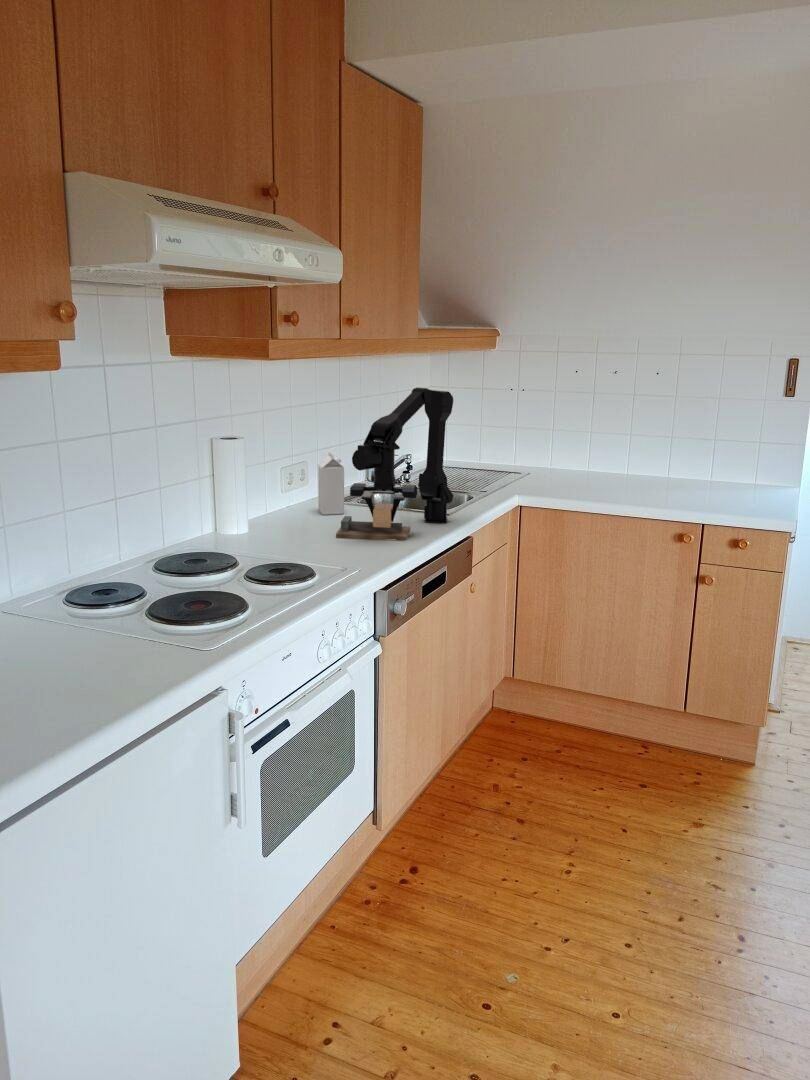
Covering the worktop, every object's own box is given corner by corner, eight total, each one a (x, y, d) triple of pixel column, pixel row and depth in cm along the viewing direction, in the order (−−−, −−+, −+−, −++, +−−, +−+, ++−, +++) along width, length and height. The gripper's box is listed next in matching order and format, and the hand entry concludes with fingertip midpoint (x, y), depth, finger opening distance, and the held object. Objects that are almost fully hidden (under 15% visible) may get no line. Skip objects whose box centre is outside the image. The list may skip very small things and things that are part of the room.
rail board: (410, 530, 247) (410, 516, 246) (406, 540, 235) (406, 526, 234) (342, 527, 248) (342, 514, 247) (336, 537, 237) (335, 523, 236)
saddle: (393, 520, 245) (393, 503, 243) (390, 527, 236) (390, 510, 235) (376, 519, 245) (376, 503, 244) (372, 526, 236) (373, 509, 235)
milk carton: (322, 515, 264) (321, 455, 259) (318, 510, 271) (317, 452, 266) (344, 514, 266) (344, 454, 261) (340, 509, 272) (339, 451, 268)
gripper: (419, 462, 243) (417, 515, 247) (355, 460, 245) (355, 512, 249) (416, 469, 233) (415, 523, 237) (349, 467, 234) (349, 521, 238)
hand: (383, 520), depth 240 cm, fingers closed on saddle, 5 cm apart
